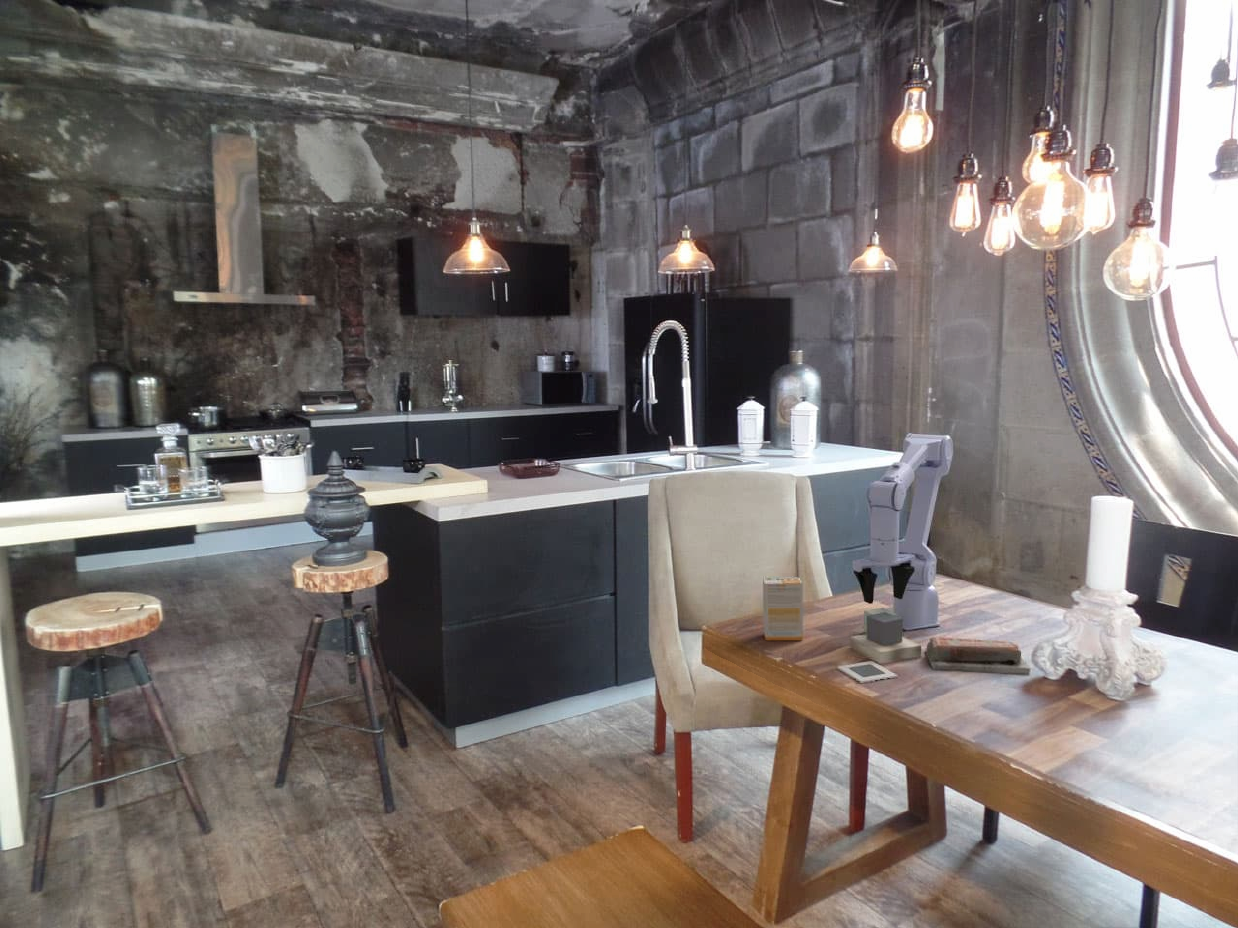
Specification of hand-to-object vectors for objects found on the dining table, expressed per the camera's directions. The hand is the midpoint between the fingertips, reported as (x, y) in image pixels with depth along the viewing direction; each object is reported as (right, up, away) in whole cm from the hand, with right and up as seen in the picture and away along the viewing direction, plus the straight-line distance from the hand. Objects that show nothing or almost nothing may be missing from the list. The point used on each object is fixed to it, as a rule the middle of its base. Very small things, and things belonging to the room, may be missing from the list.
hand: (883, 600), depth 178 cm
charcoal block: (-1, -8, -4) cm, 9 cm away
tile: (-8, -12, -15) cm, 21 cm away
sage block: (+1, -9, +7) cm, 11 cm away
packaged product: (+15, -11, -11) cm, 22 cm away
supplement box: (-20, -9, +6) cm, 23 cm away
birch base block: (-1, -11, -4) cm, 12 cm away
